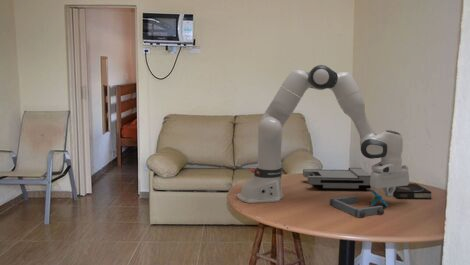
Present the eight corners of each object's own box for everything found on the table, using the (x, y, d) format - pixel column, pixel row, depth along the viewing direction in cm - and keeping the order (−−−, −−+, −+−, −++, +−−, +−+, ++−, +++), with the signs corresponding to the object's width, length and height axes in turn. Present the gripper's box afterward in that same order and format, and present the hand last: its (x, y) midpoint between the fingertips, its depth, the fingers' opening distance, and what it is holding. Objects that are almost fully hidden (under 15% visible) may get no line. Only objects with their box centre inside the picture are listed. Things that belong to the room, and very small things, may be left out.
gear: (391, 206, 186) (375, 189, 187) (381, 215, 187) (365, 198, 188) (386, 202, 197) (371, 186, 198) (376, 211, 198) (361, 195, 199)
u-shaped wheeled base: (359, 218, 175) (359, 211, 175) (329, 204, 194) (329, 198, 193) (384, 214, 181) (384, 207, 180) (353, 201, 199) (353, 195, 199)
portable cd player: (397, 200, 203) (397, 192, 203) (383, 190, 220) (384, 183, 220) (431, 200, 204) (431, 192, 203) (415, 191, 221) (415, 183, 220)
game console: (302, 181, 238) (303, 167, 237) (360, 182, 237) (361, 167, 236) (308, 191, 217) (309, 175, 216) (371, 192, 217) (372, 176, 216)
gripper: (402, 163, 200) (401, 192, 201) (368, 166, 191) (366, 196, 193) (413, 166, 194) (411, 195, 196) (378, 169, 186) (376, 200, 187)
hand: (389, 196), depth 194 cm, fingers closed
